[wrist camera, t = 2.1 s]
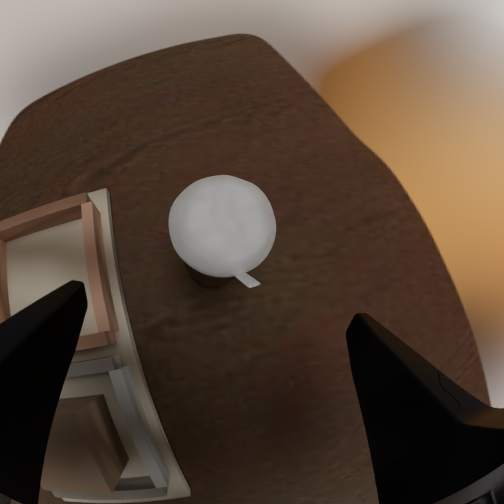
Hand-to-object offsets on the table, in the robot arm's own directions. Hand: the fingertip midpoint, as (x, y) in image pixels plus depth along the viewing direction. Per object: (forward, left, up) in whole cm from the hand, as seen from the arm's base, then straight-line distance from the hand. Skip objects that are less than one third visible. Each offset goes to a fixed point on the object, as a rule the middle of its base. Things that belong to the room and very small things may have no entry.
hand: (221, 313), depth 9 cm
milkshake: (+3, +1, -11) cm, 11 cm away
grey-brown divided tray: (-6, +9, -10) cm, 15 cm away
